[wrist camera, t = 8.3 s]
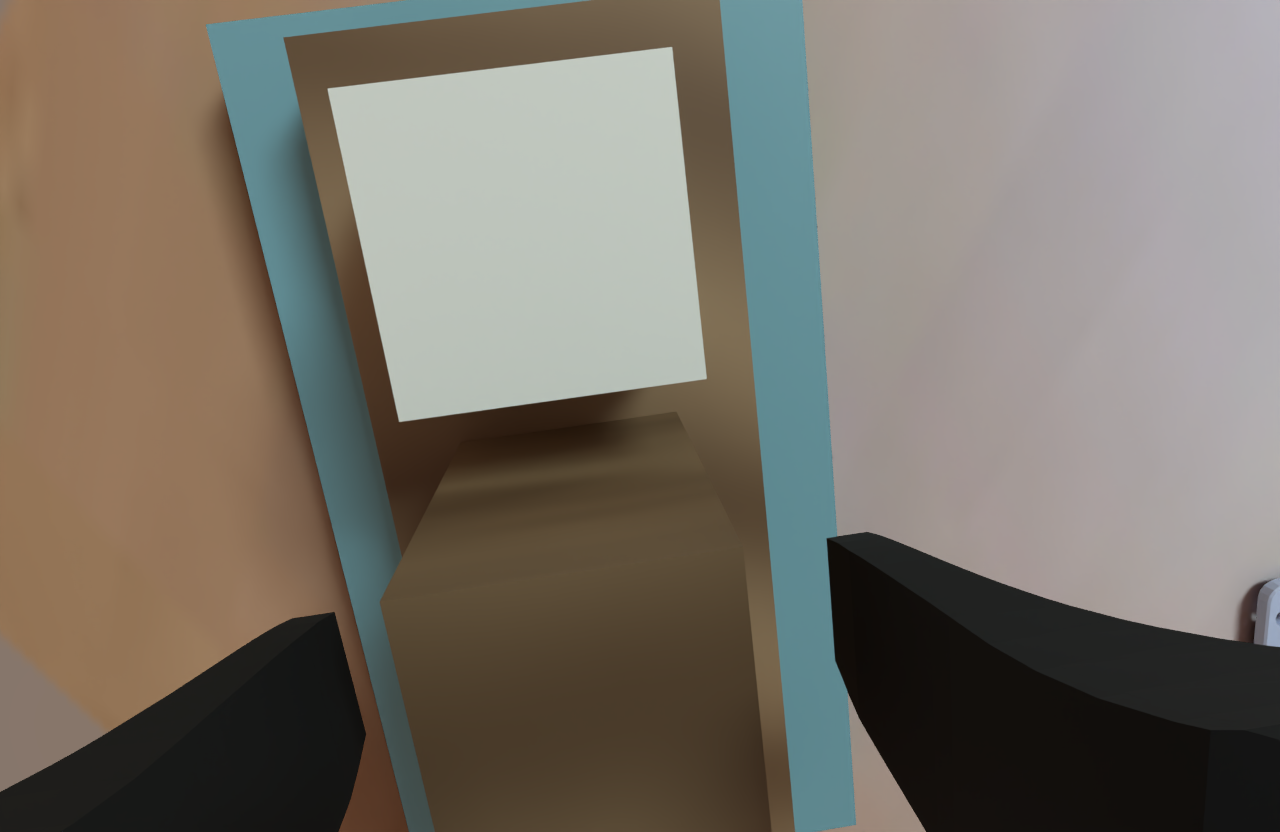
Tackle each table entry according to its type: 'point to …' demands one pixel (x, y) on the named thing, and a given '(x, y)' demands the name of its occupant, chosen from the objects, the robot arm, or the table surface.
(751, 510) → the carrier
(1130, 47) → the table surface
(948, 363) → the table surface
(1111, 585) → the table surface
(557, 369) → the block
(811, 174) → the dock
